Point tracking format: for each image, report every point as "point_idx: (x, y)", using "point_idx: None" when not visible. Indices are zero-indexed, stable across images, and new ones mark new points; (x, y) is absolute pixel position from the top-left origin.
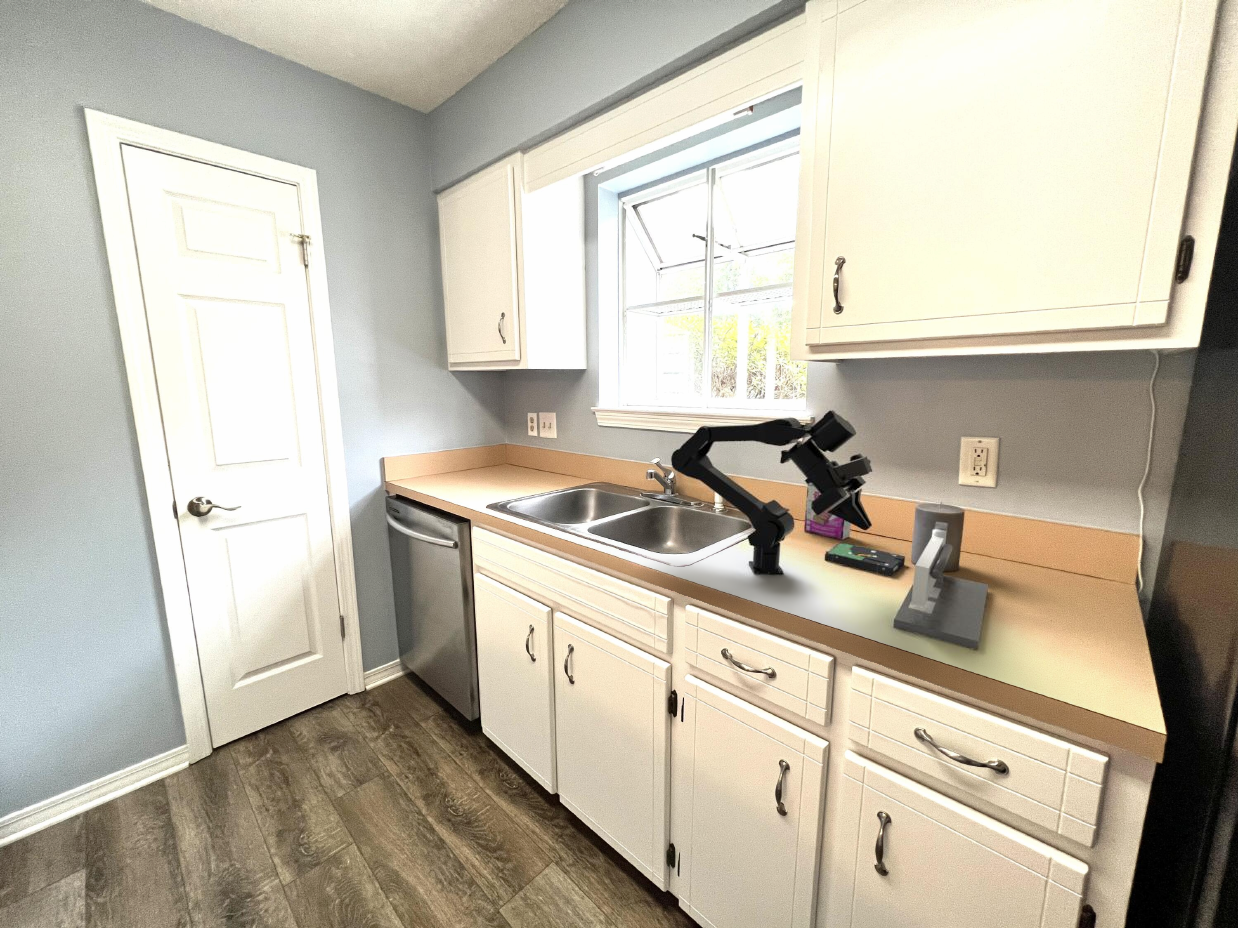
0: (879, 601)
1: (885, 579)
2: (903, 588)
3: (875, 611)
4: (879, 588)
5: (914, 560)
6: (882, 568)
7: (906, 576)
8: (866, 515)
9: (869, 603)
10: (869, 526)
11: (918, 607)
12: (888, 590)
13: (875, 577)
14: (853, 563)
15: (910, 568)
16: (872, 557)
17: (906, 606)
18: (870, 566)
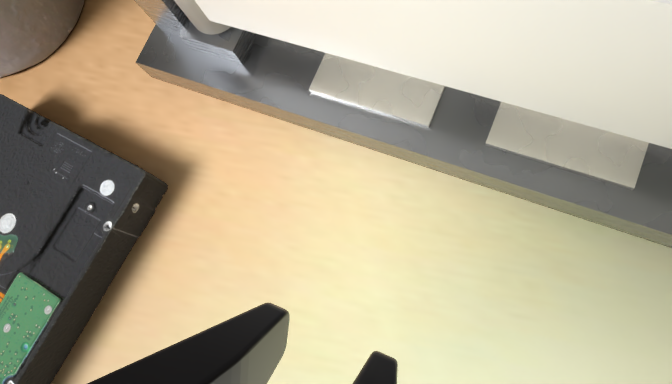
0: (486, 291)
1: (205, 214)
2: (293, 159)
3: (625, 335)
4: (321, 261)
5: (8, 65)
6: (133, 212)
7: (154, 124)
8: (187, 371)
9: (530, 344)
10: (286, 332)
11: (614, 144)
12: (334, 225)
13: (189, 254)
14: (65, 335)
15: (64, 94)
16: (22, 236)
17: (607, 192)
18: (105, 261)
